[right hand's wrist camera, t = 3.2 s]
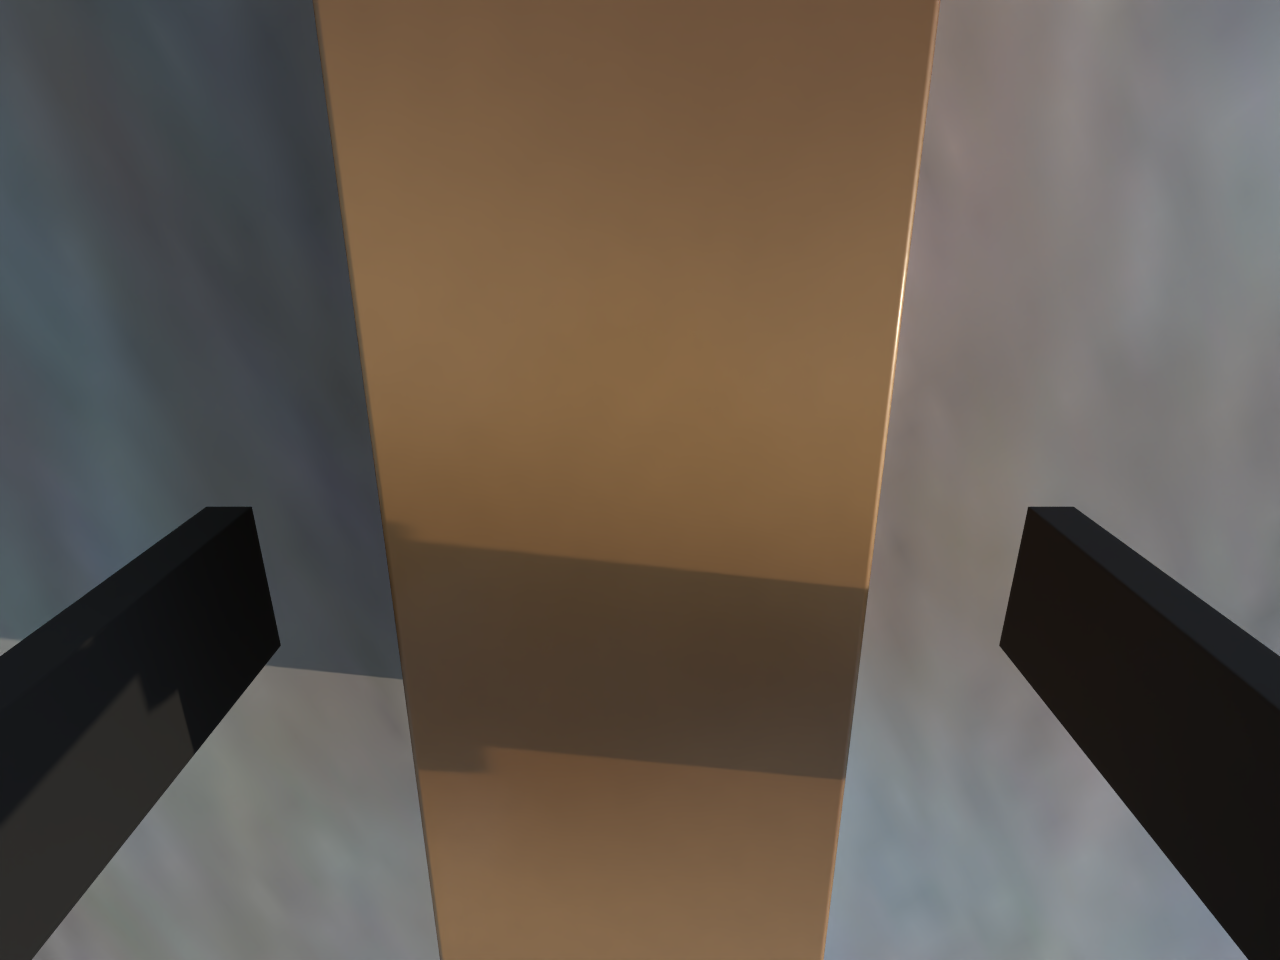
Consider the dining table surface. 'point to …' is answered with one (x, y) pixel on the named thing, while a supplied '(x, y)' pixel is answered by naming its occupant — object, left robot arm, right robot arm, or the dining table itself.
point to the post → (628, 441)
